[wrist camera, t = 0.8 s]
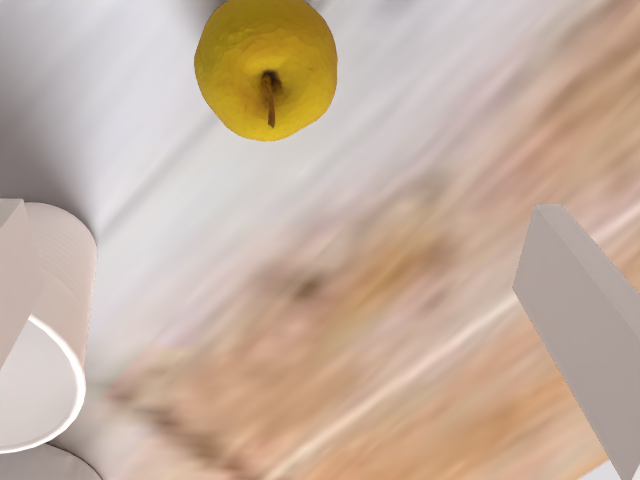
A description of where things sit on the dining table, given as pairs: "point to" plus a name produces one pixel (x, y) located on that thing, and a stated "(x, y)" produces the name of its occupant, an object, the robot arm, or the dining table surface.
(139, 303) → the dining table surface
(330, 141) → the dining table surface
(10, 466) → the utensil holder
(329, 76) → the apple
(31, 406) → the cup
